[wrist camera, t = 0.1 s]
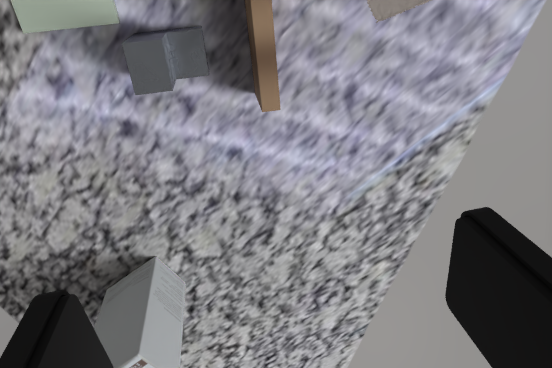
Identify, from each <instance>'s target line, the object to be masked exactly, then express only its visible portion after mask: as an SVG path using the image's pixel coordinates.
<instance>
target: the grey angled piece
mask: <svg viewBox="0 0 552 368" xmlns="http://www.w3.org/2000/svg"><path fill="white" fill-rule="evenodd" d="M428 1H431V0H368V2H367V3H368V4H369V7H370V8H371V11H372V12H373V16H374V17H375V19H376V20H378V21H382V20H385V19H387V18H389V17H390V18H391V17H392V16H395V15H396V14H399V13H402V12H405V10H409V9H412V8H415V6H416V5H417V6H418V5H422V4H424V3H426V2H428ZM378 21H377V22H378ZM377 22H376V23H377Z"/></svg>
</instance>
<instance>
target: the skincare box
mask: <svg viewBox="0 0 552 368" xmlns="http://www.w3.org/2000/svg"><path fill="white" fill-rule="evenodd" d="M185 290H186V283H185V282H184V281H183V280H182V279H181V278H180V277H179V276H178V275H177V274H176V273H174V272H173V271H172V270H171V269H170V268H169V267H168V266H167V265H166V264H164V263H163V262H162V261H161V260H160V259H159V258H158V257H156V256H155V257H153V258H152V259H151V260H149V261H148V262H146V263H145V264H143V265H142V266H140V267H139V268H137V269H136V270H134V271H133V272H131V273H130V274H129V275H127V276H126V277H124V278H123V279H121V280H120V281H119V282H117V283H116V284H115V285H113V286H111V287H110V288H108V289H107V291H106V294H105V297H104V300H103V303H102V306H101V309H100V312H99V315H98V318H97V321H96V324H95V327H94V330H95V332H96V334H97V336H98V338H99V340H100V342H101V343H102V345H103V347H104V349H105V351H106V353H107V355H108V357H109V359H110V361H111V363H112V364H113V367H114V368H180V360H181V346H182V332H183V318H184V304H185Z"/></svg>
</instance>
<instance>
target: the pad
mask: <svg viewBox="0 0 552 368" xmlns="http://www.w3.org/2000/svg"><path fill="white" fill-rule="evenodd" d="M11 2H12V5H13V8H14V10H15V13H16V15H17V18H18V21H19V23H20V26H21V28H22V31H23V34H24V33H33V32H43V31H52V30H61V29H71V28H80V27H90V26H99V25H109V24H118V23H120V21H119V17H118V13H117V9H116V6H115V2H114V0H11Z"/></svg>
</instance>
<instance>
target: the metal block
mask: <svg viewBox="0 0 552 368" xmlns="http://www.w3.org/2000/svg"><path fill="white" fill-rule="evenodd" d="M122 47H123V51H124V55H125V58H126V62H127V66H128V69H129V73H130V77H131V80H132V84H133V88H134V91H135V95H141V94H149V93H157V92H165V91H173V88H174V85H175V81H176V79H182V78H190V77H198V76H206V75H209V68H208V62H207V56H206V50H205V44H204V38H203V32H202V26H200V27H190V28H181V29H172V30H163V31H154V32H145V33H135V34H134V35H132V36H131V37H130V38H128V39H127V40H126V41H124V42H123V43H122Z"/></svg>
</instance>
